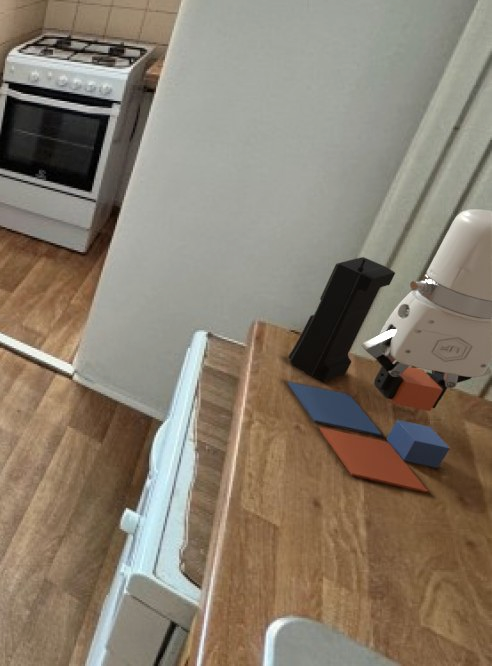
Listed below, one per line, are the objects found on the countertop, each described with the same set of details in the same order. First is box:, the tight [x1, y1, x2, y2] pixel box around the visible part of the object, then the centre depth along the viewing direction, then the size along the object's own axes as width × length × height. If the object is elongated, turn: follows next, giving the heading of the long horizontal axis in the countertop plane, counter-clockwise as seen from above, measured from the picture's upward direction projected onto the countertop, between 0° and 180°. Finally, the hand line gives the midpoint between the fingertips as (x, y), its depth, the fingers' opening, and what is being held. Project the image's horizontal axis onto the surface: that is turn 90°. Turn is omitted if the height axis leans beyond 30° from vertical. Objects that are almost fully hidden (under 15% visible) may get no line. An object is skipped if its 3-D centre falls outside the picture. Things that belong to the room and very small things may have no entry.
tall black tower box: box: [288, 256, 396, 382], centre depth 107 cm, size 8×6×25 cm
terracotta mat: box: [319, 427, 429, 494], centre depth 93 cm, size 9×9×1 cm
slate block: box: [386, 419, 450, 469], centre depth 94 cm, size 4×4×4 cm
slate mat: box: [287, 381, 383, 437], centre depth 103 cm, size 9×9×1 cm
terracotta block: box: [389, 366, 443, 412], centre depth 89 cm, size 4×4×4 cm
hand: (403, 395), depth 90 cm, fingers closed on terracotta block, 4 cm apart
